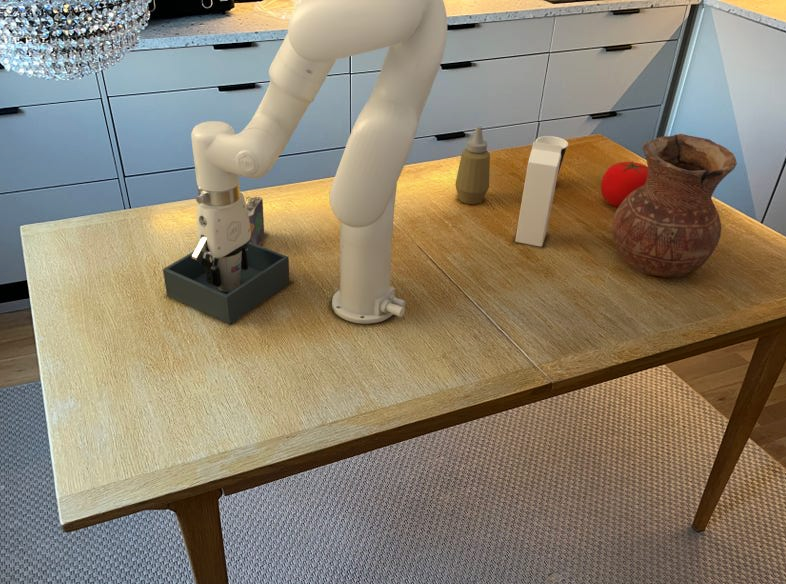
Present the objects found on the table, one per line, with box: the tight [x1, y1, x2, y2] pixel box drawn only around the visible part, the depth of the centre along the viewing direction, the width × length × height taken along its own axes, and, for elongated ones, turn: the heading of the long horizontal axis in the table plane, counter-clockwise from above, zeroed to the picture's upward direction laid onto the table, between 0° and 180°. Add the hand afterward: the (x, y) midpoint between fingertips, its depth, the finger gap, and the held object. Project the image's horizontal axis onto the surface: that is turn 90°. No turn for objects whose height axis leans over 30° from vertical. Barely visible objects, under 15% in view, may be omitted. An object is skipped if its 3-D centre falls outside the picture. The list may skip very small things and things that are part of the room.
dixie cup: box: [534, 135, 569, 178], centre depth 189 cm, size 8×8×11 cm
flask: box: [245, 196, 266, 246], centre depth 162 cm, size 9×3×11 cm, turn 172°
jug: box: [611, 133, 738, 278], centre depth 155 cm, size 22×21×25 cm
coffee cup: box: [210, 245, 243, 292], centre depth 147 cm, size 7×7×10 cm
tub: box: [162, 242, 291, 325], centre depth 149 cm, size 16×18×6 cm
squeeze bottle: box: [454, 125, 491, 205], centre depth 179 cm, size 8×8×18 cm
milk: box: [514, 141, 562, 247], centre depth 163 cm, size 6×6×22 cm
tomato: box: [600, 160, 648, 209], centre depth 181 cm, size 12×12×10 cm
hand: (227, 275), depth 149 cm, fingers closed on coffee cup, 7 cm apart
